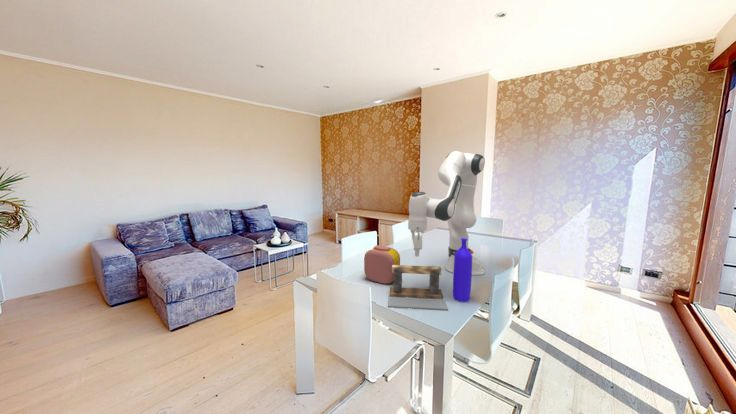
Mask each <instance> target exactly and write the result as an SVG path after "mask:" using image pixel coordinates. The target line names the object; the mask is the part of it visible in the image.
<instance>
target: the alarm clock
mask: <svg viewBox="0 0 736 414" xmlns="http://www.w3.org/2000/svg"><path fill="white" fill-rule="evenodd" d="M363 263H364V264H363V265H364V266H363V269H364V271H363V272H364V275H365V277H366V278H367V279H368V280H369V281H372V282H375V283H380V284H385V285H386V284H387V285H388V284H390V283H392V282H394V273H392V265H401V256H400V253H399V252H398V250H397V249H395V248H393V247H390V246H385V245H378V244H377V245H374V246H373V247H372V248H371V249H369V250H367V251H366V253H364V261H363Z"/></svg>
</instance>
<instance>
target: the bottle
mask: <svg viewBox="0 0 736 414" xmlns="http://www.w3.org/2000/svg"><path fill="white" fill-rule="evenodd" d="M461 240H462V246H461V248H460V249H459V250H458V251H457V252H456V253H455V257H454V273H452V274H453V275H452V276H453V277H452V278H453V279H452V298H453V299H454V300H455V301H457V302H460V303H465V302H468V301H470V298H471V292H472V291H471V290H472V276H473V275H472V255H473V254H471V253H470V251H469V250H468V249H467V247H466V241H467V240H468V241H469V239H466V238H461Z"/></svg>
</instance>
